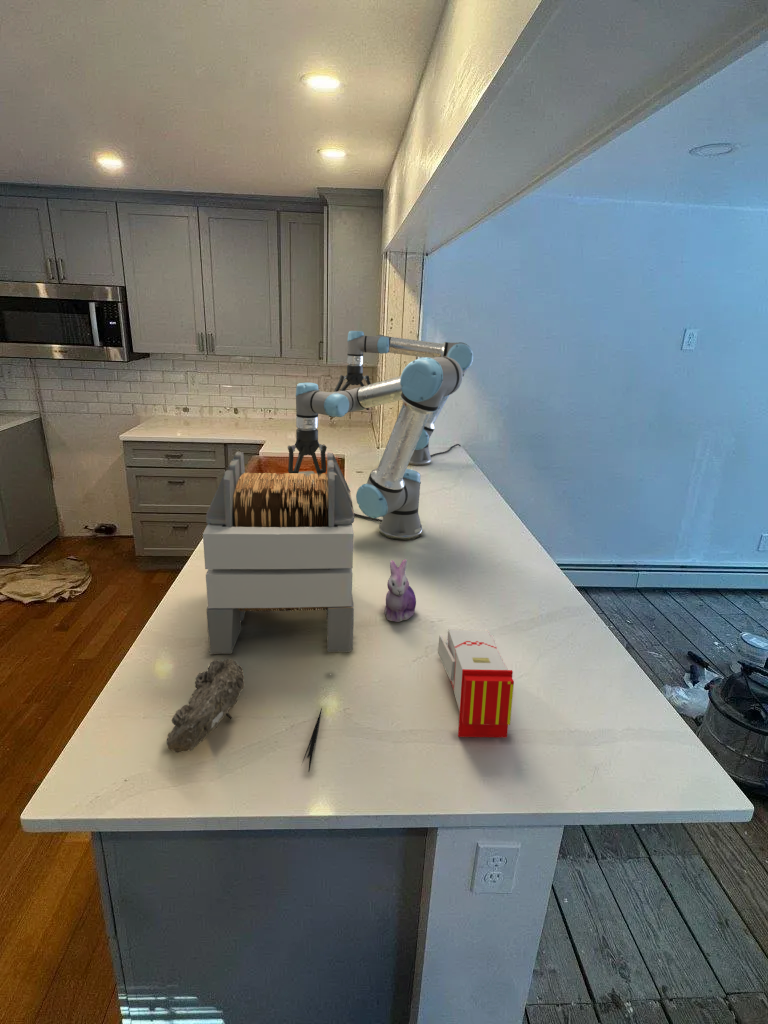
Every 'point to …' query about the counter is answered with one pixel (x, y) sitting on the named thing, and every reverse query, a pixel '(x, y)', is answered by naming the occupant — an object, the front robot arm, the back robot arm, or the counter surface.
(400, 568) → the figurine
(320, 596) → the record crate
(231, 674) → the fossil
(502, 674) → the toy
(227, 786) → the counter surface
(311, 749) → the feather
